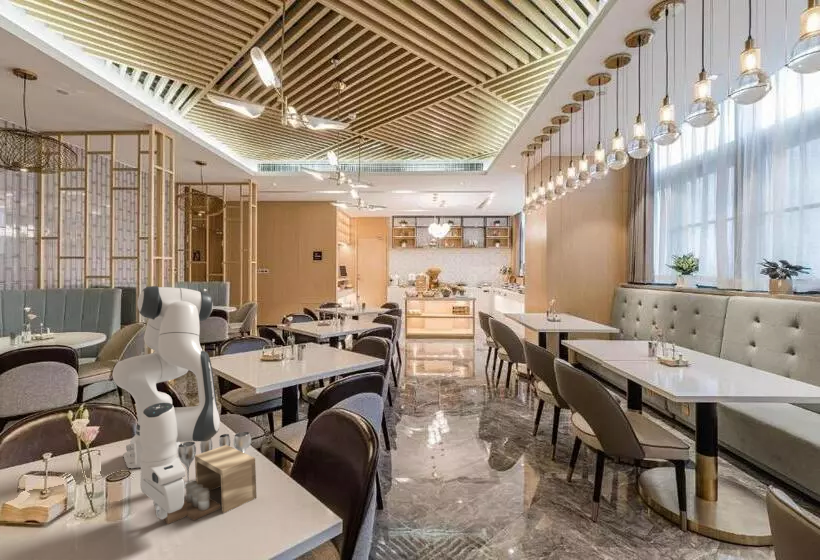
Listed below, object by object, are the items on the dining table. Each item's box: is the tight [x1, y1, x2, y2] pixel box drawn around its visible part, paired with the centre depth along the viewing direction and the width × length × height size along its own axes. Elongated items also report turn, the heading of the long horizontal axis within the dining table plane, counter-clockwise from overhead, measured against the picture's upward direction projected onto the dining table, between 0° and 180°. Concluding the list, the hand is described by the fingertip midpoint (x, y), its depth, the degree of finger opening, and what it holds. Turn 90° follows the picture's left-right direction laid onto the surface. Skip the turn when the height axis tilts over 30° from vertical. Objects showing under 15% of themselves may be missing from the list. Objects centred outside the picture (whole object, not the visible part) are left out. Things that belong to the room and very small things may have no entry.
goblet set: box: [178, 431, 252, 489], centre depth 141 cm, size 28×6×13 cm, turn 127°
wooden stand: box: [194, 445, 257, 514], centre depth 130 cm, size 17×10×12 cm, turn 51°
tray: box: [162, 480, 221, 525], centre depth 122 cm, size 11×12×6 cm
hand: (161, 516), depth 116 cm, fingers closed
